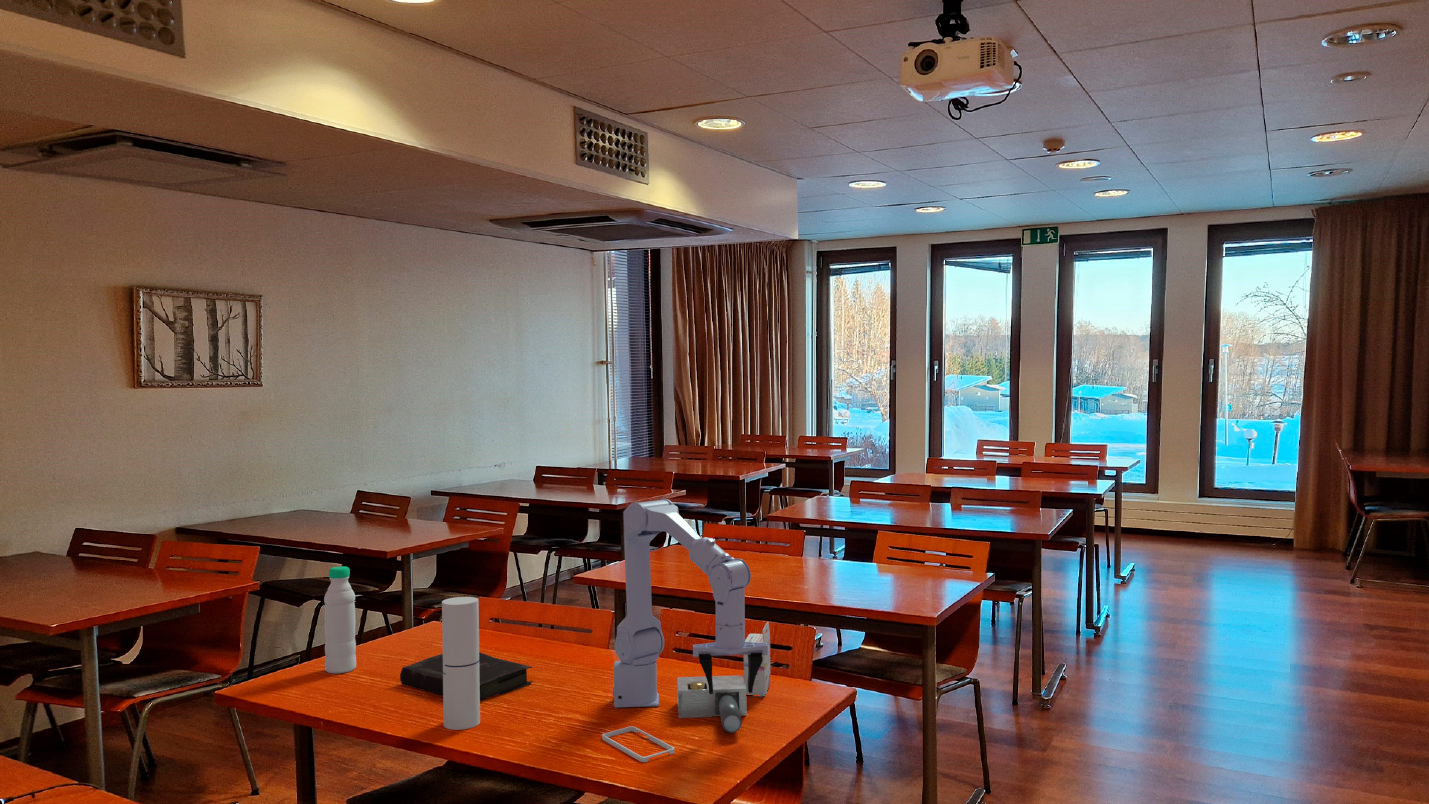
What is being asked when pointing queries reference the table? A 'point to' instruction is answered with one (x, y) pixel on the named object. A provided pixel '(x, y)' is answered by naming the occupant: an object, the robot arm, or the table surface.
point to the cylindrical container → (461, 662)
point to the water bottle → (339, 623)
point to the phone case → (631, 753)
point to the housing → (709, 696)
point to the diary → (492, 675)
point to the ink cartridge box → (764, 671)
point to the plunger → (697, 685)
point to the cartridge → (729, 713)
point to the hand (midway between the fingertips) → (730, 691)
